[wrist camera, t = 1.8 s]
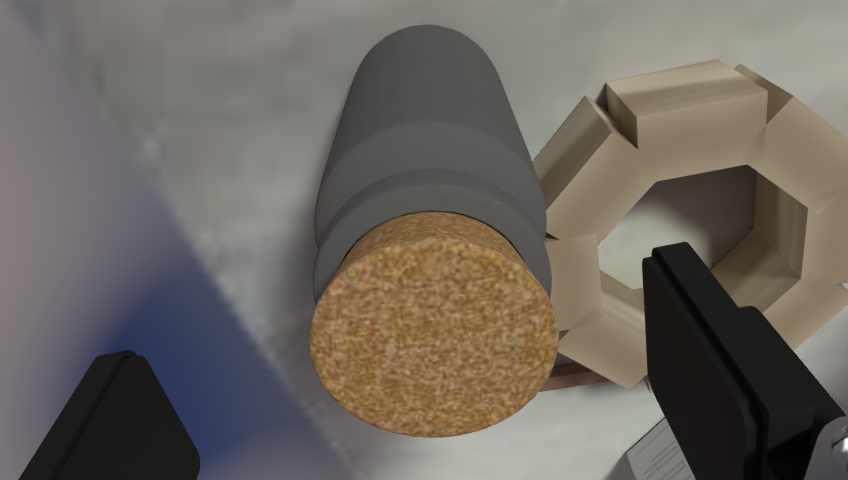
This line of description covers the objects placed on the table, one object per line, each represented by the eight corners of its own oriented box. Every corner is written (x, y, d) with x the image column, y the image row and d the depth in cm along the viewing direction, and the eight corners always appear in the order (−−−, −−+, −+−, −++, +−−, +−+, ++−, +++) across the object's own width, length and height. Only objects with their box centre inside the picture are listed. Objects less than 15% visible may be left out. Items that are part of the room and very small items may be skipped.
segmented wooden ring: (832, 35, 24) (902, 64, 20) (804, 304, 30) (854, 360, 26) (499, 104, 25) (512, 142, 22) (537, 348, 31) (552, 408, 28)
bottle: (480, 181, 27) (538, 477, 14) (341, 154, 26) (263, 437, 13) (519, 41, 24) (640, 247, 11) (364, 7, 23) (294, 182, 10)
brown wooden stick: (627, 354, 31) (631, 364, 31) (628, 367, 32) (632, 377, 31) (427, 387, 32) (428, 397, 32) (431, 399, 33) (431, 409, 32)
